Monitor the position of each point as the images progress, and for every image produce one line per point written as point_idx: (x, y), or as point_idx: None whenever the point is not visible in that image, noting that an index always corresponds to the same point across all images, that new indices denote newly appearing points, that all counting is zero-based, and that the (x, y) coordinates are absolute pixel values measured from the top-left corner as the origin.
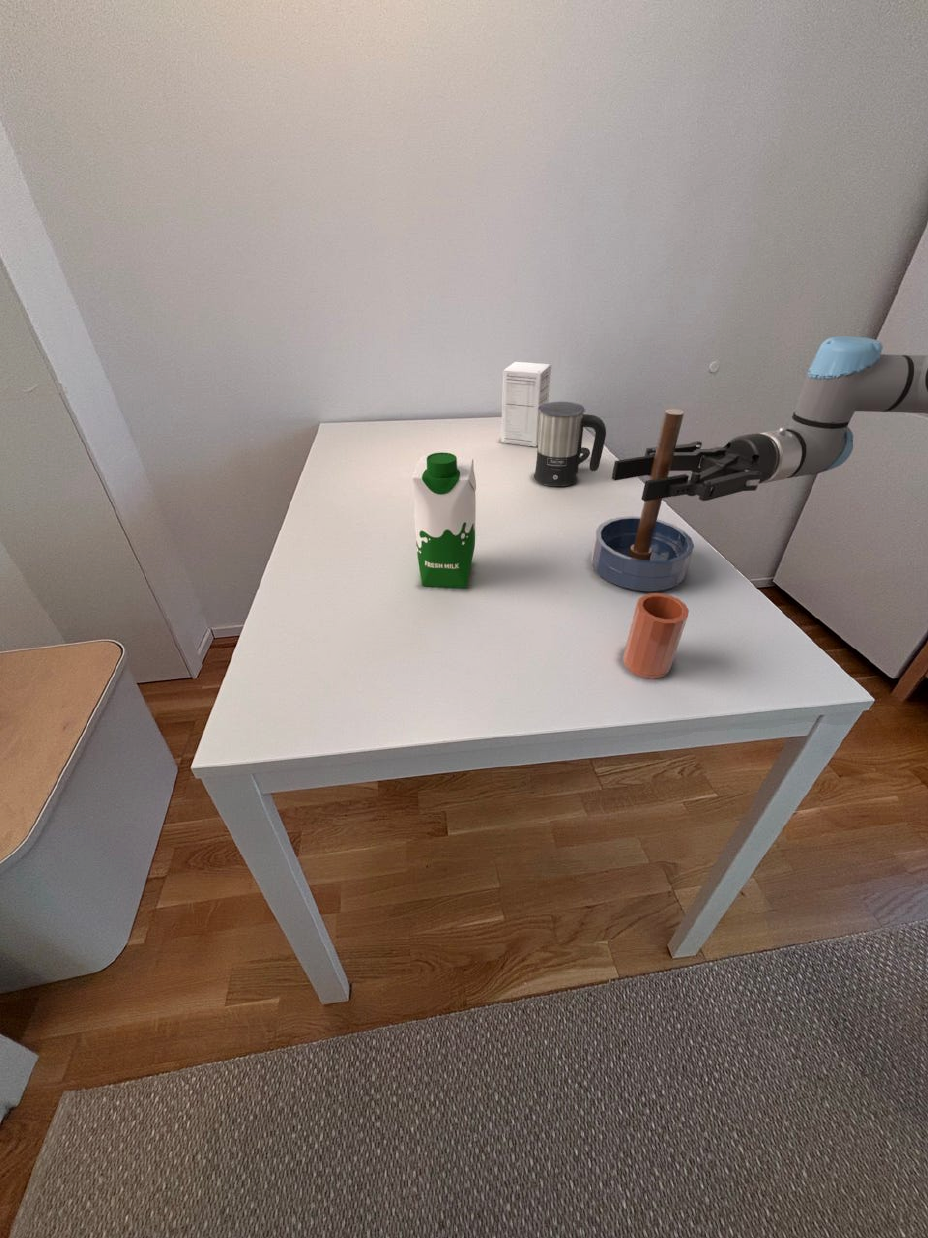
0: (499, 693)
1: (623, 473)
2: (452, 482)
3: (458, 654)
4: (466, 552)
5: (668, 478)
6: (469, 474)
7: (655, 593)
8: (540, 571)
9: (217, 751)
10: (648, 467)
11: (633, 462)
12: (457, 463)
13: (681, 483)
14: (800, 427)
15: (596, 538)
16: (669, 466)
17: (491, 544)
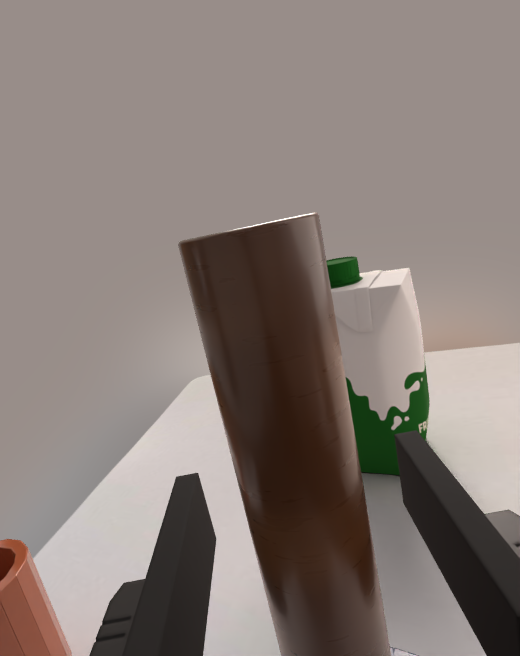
0: (138, 489)
1: (414, 507)
2: None
3: (214, 462)
4: None
5: (164, 552)
6: None
7: (5, 584)
8: (393, 582)
9: (199, 377)
10: (496, 636)
11: (430, 497)
12: (367, 281)
13: (121, 644)
14: None
15: (395, 648)
16: (266, 594)
17: (512, 510)
